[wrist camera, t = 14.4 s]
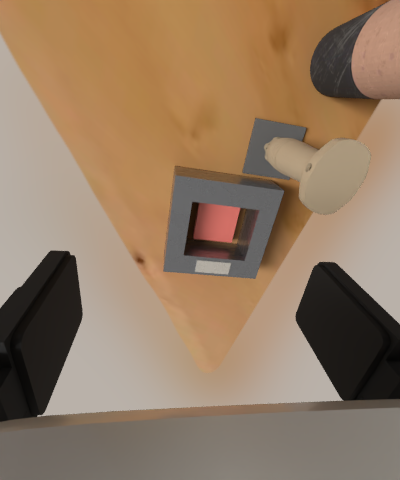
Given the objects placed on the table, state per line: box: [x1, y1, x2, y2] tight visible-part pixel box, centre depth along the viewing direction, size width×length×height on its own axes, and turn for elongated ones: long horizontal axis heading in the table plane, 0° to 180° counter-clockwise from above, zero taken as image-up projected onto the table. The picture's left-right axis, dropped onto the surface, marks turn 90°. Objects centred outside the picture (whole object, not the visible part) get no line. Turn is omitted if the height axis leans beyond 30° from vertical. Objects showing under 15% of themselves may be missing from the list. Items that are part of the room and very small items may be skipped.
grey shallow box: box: [164, 166, 284, 279], centre depth 37 cm, size 14×14×5 cm
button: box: [193, 202, 240, 243], centre depth 38 cm, size 6×6×1 cm
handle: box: [264, 137, 371, 215], centre depth 28 cm, size 5×6×15 cm
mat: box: [243, 118, 306, 180], centre depth 35 cm, size 7×7×1 cm
